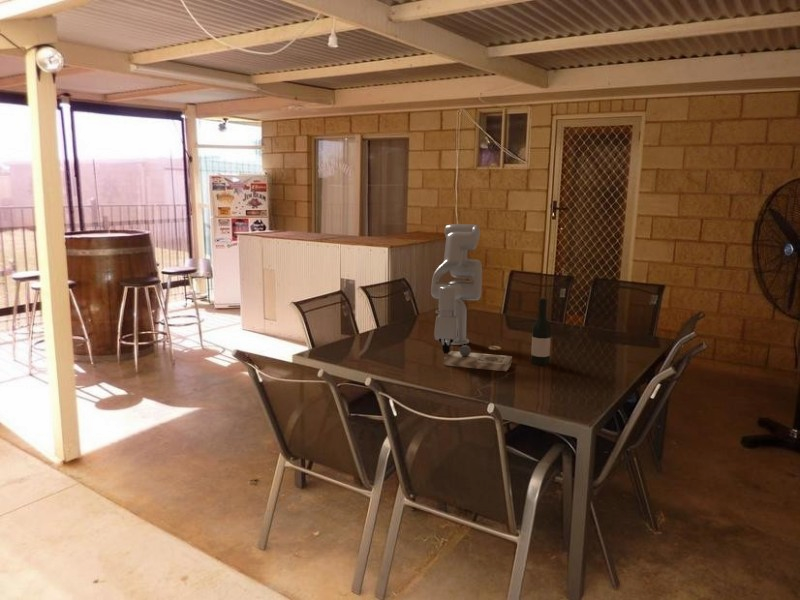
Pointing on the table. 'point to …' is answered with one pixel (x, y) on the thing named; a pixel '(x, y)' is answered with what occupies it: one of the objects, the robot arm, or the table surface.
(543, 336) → the wine bottle
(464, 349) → the ball
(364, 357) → the table surface
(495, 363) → the beige flat board
